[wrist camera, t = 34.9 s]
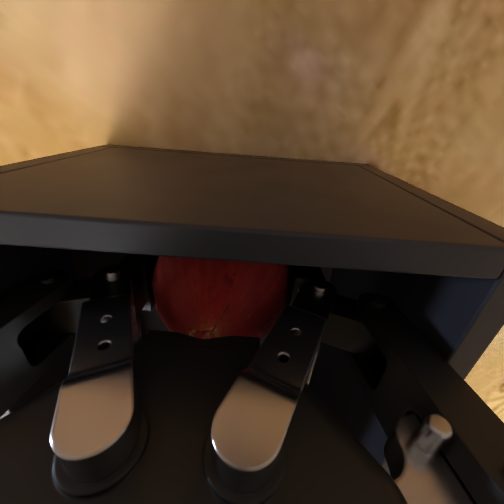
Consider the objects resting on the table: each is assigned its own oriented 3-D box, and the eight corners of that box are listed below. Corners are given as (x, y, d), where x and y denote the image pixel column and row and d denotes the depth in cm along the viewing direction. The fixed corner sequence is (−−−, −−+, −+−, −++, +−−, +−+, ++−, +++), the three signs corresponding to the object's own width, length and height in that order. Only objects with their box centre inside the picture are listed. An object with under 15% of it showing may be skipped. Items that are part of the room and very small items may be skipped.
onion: (303, 244, 15) (344, 366, 8) (233, 299, 17) (214, 436, 10) (228, 168, 13) (190, 237, 6) (159, 240, 15) (68, 358, 8)
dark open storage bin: (105, 144, 14) (-170, 199, 5) (368, 164, 14) (558, 252, 5) (147, 363, 23) (72, 529, 14) (311, 374, 23) (345, 546, 14)
